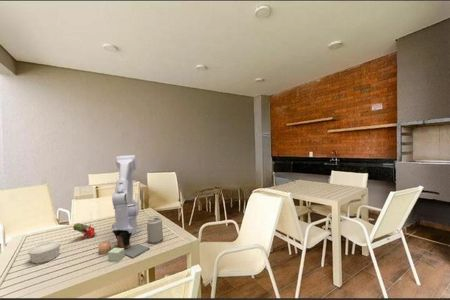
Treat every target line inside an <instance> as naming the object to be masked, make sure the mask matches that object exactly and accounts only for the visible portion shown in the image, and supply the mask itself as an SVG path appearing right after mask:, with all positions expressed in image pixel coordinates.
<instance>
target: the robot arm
mask: <svg viewBox="0 0 450 300" xmlns="http://www.w3.org/2000/svg"><path fill="white" fill-rule="evenodd" d="M115 165H116V166H117V169H118V170H119V177H118V178H119V179H118V180H117V181H116V183H115V192H114V194H112V197H111V201H112V206H113V210H114V218H115V223H111V228H112V229H113V230H112V233H113V234H114V236H115V238H116V239H117V236H118V235H120V234H121V236H122V239H123V244H124V246H127V245H129V241H131V236H133V235H135V234H137V233H140V232H141V229H138V221H137V220H138V219H137V217H138V216H139V214H140V209H139V208H140V207H139V202H138V201H137V200H136V199H134V185H133V184H134V182H133V181H134V180H133V178H134V177H133V174H134V171H135V170H137V157H136V155H135V154H131V155H117V156H116V157H115Z"/></svg>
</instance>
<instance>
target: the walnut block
mask: <svg viewBox="0 0 450 300" xmlns="http://www.w3.org/2000/svg"><path fill="white" fill-rule="evenodd" d="M130 241H131V240H130ZM130 241H129V245H127V246H124V244H123V239H122V236H121V234H120V235H118V236H117V238H116V243H117V248H124V250H126V249H128V248H130V247H131V242H130Z"/></svg>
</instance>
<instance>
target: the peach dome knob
mask: <svg viewBox="0 0 450 300" xmlns="http://www.w3.org/2000/svg"><path fill="white" fill-rule="evenodd" d="M111 250H112V244H111V241H109V240H106V241H102V242H100V243H99V244H98V254H99V255H102V256H103V255H106V254H107V255H108V252H109V251H111Z"/></svg>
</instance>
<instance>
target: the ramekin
mask: <svg viewBox="0 0 450 300" xmlns="http://www.w3.org/2000/svg"><path fill="white" fill-rule="evenodd" d="M60 247H61V242H59V241H48V242H45V243H41V244H38V245H36V246H34V247H31V248H30V249H29V250H28V253H27V254H28V255H29V257H30V261H31V262H32V263H33V264H43V263H46V262H50V261H52V260H54V259H55V258H57V257H58V255H59V253H60Z"/></svg>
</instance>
